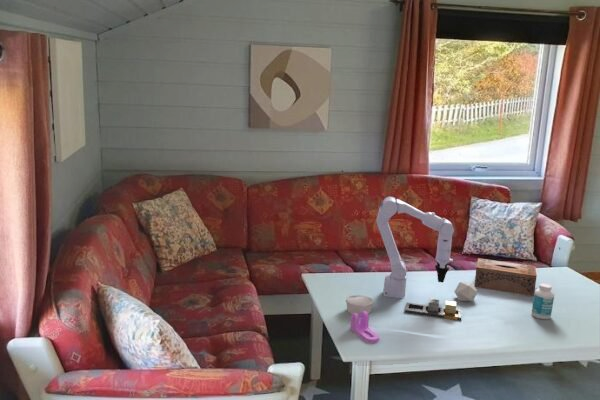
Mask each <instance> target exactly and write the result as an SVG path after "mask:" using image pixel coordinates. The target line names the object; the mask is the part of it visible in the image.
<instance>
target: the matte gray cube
mask: <svg viewBox="0 0 600 400" xmlns="http://www.w3.org/2000/svg"><path fill="white" fill-rule="evenodd" d="M439 307H440V299H435V298H428V312H433V313H438V309H439Z"/></svg>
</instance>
